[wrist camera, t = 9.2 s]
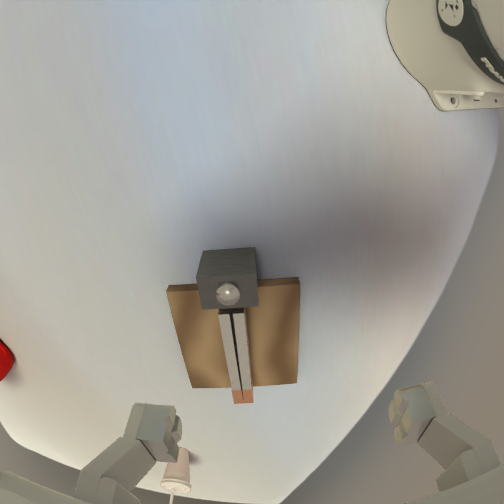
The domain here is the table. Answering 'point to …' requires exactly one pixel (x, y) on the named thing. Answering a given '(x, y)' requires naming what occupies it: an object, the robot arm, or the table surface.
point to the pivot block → (228, 279)
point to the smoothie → (177, 474)
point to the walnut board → (259, 334)
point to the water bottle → (5, 361)
